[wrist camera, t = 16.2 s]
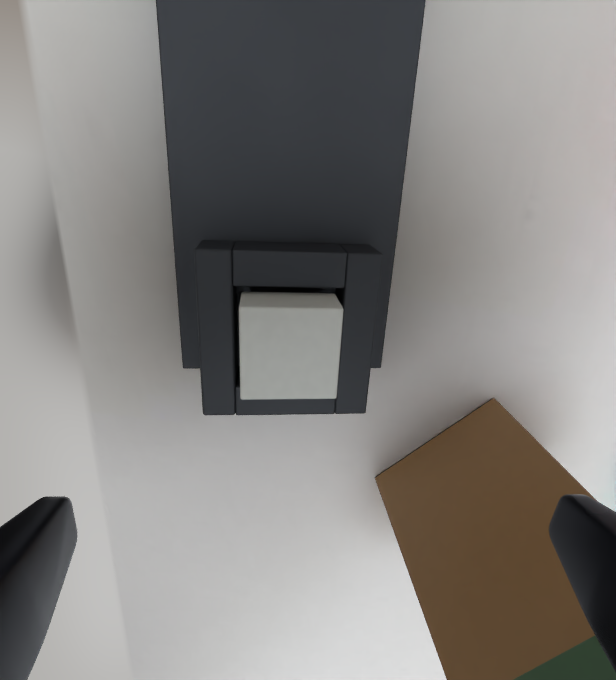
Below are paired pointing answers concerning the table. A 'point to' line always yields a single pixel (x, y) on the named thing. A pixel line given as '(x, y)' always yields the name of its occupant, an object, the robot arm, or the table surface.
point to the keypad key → (289, 345)
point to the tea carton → (491, 553)
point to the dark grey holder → (285, 172)
